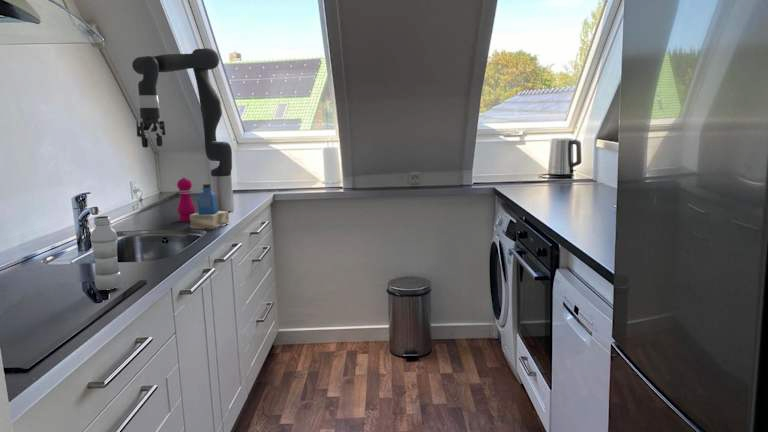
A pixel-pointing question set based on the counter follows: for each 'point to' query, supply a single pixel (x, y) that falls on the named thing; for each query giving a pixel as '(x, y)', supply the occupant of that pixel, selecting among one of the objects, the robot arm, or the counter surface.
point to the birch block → (208, 220)
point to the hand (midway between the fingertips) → (152, 146)
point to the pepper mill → (185, 199)
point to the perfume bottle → (207, 201)
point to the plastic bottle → (105, 254)
